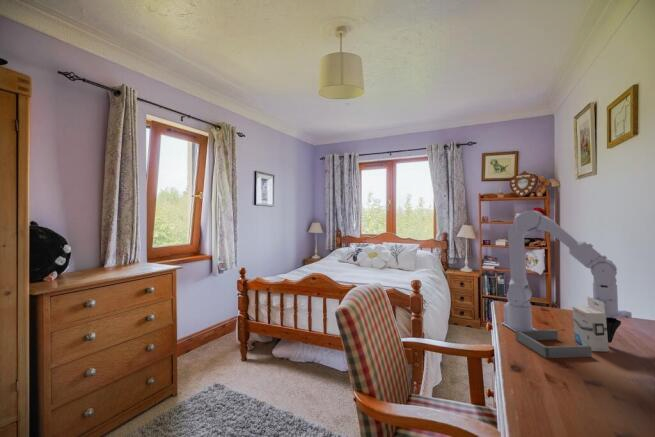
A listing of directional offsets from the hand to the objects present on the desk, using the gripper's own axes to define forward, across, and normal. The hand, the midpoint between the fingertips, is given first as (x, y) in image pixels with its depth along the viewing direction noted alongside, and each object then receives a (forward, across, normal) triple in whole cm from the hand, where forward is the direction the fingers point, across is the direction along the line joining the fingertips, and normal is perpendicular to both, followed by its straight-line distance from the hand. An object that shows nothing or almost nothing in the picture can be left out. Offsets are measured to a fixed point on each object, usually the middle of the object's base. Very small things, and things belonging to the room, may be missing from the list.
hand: (606, 341), depth 96 cm
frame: (+1, -18, 0) cm, 18 cm away
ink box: (+2, -5, 0) cm, 5 cm away
